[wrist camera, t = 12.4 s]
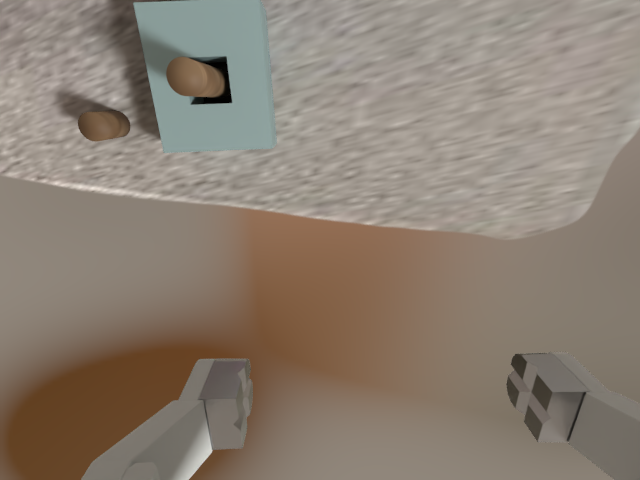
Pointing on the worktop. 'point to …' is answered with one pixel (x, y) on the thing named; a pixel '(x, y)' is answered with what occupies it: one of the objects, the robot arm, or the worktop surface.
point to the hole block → (210, 46)
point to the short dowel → (103, 125)
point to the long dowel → (197, 79)
